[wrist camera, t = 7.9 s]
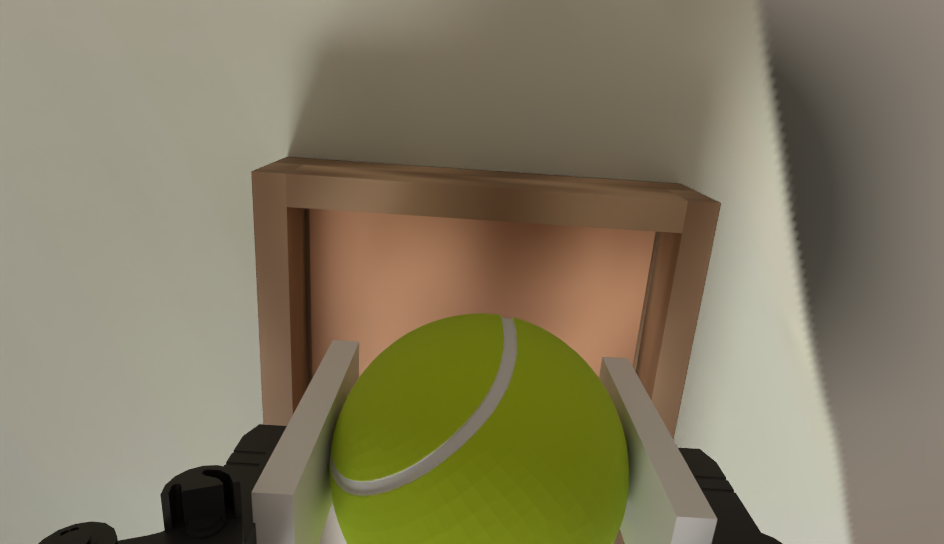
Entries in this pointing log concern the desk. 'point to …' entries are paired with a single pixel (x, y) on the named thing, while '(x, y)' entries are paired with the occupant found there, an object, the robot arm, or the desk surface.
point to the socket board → (473, 267)
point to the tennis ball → (479, 441)
